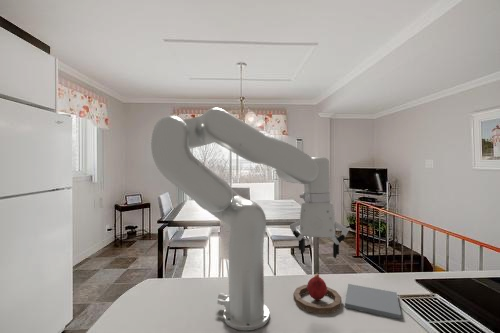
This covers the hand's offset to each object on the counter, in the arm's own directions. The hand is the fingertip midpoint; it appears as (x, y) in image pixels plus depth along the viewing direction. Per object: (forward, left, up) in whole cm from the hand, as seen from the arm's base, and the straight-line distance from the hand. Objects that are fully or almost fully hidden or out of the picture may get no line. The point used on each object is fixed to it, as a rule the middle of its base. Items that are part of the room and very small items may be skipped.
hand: (318, 254), depth 77 cm
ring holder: (0, 0, -14) cm, 14 cm away
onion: (0, 0, -14) cm, 14 cm away
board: (+15, +6, -14) cm, 21 cm away
